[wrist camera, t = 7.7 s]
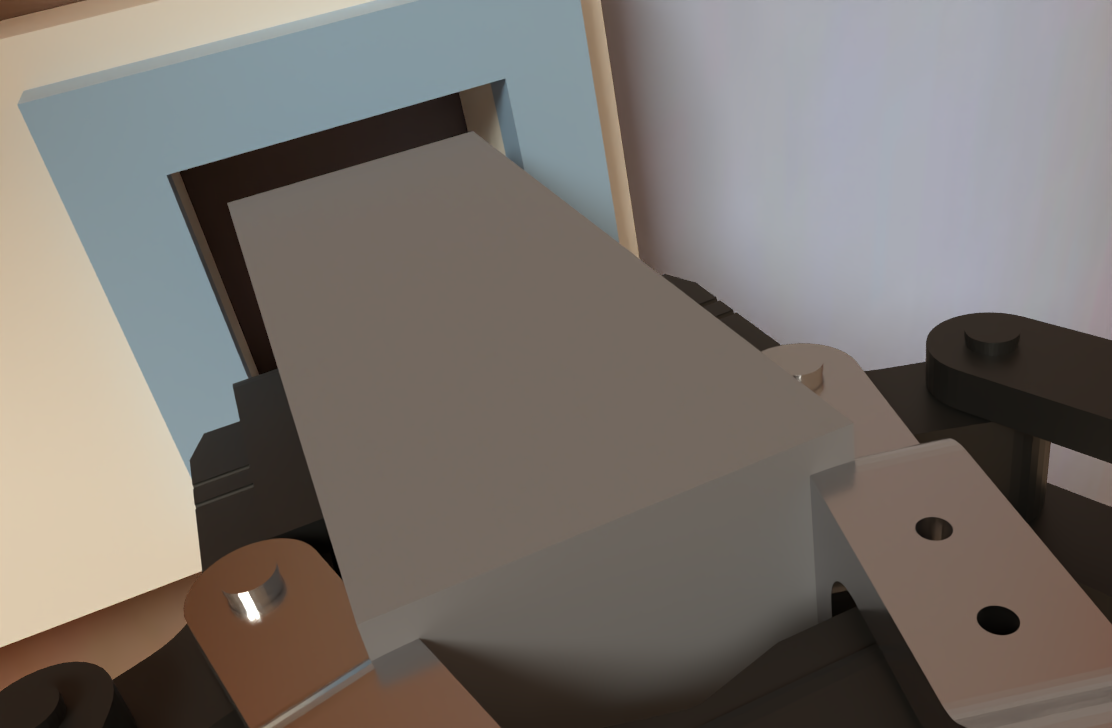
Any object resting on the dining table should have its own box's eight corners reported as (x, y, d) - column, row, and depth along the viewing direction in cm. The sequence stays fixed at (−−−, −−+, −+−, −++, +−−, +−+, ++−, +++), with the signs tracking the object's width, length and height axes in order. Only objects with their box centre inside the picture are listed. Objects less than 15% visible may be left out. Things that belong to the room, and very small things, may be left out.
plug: (472, 130, 16) (853, 423, 8) (520, 342, 18) (863, 755, 10) (227, 202, 15) (357, 624, 7) (306, 417, 17) (481, 944, 9)
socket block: (533, -108, 18) (609, -102, 15) (613, 349, 23) (682, 418, 20) (-872, 230, 14) (-1146, 331, 11) (-390, 713, 19) (-486, 870, 16)
